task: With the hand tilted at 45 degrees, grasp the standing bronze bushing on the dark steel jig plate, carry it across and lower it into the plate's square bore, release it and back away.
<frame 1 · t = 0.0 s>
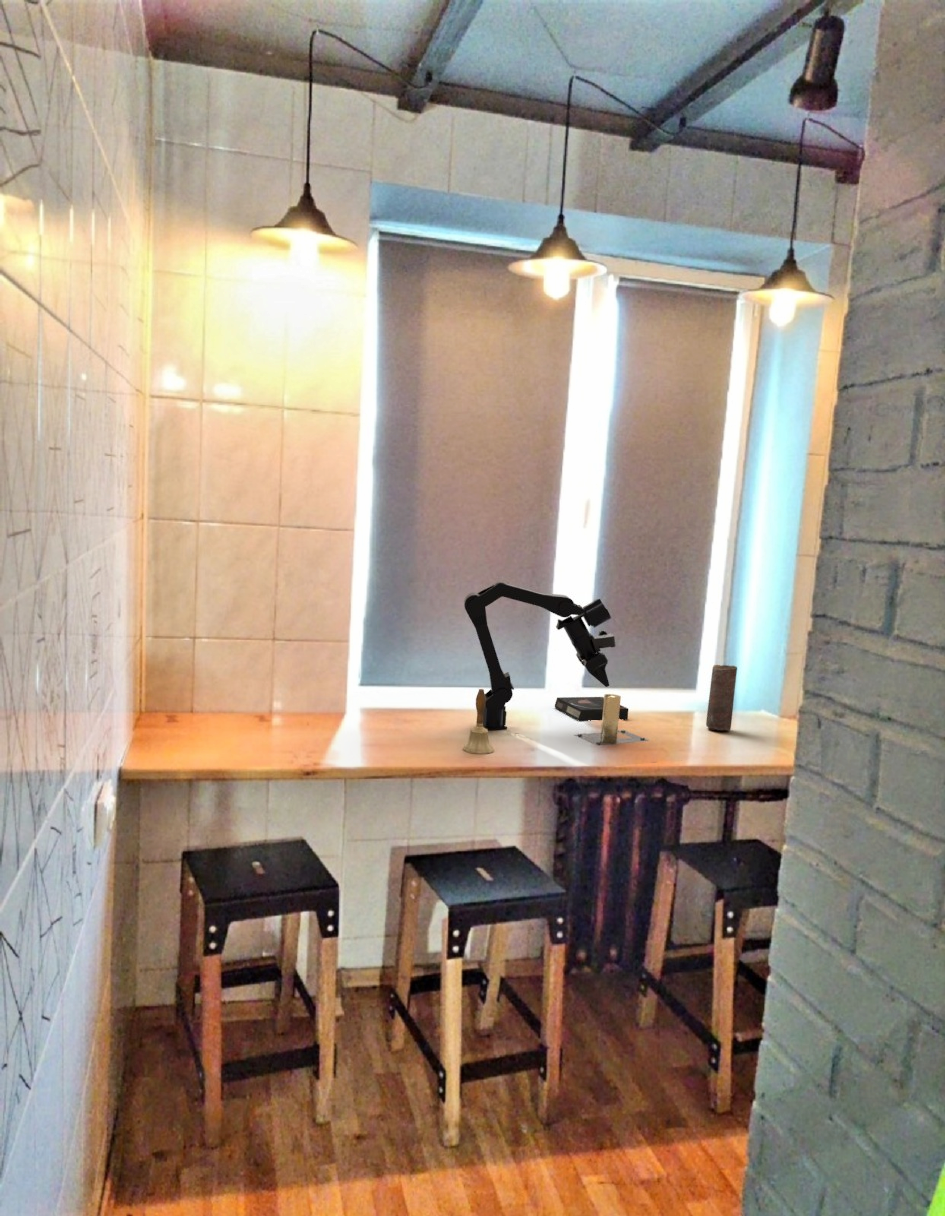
hand: (604, 682, 265), 15 cm above the table, tool tilted 35°, fingers open, 9 cm apart
jig: (610, 742, 257), on the table
bushing: (608, 740, 253), point 1 cm above the table, touching jig
portable cd player: (590, 716, 291), on the table
hand bell: (478, 750, 241), on the table
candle: (717, 731, 281), on the table
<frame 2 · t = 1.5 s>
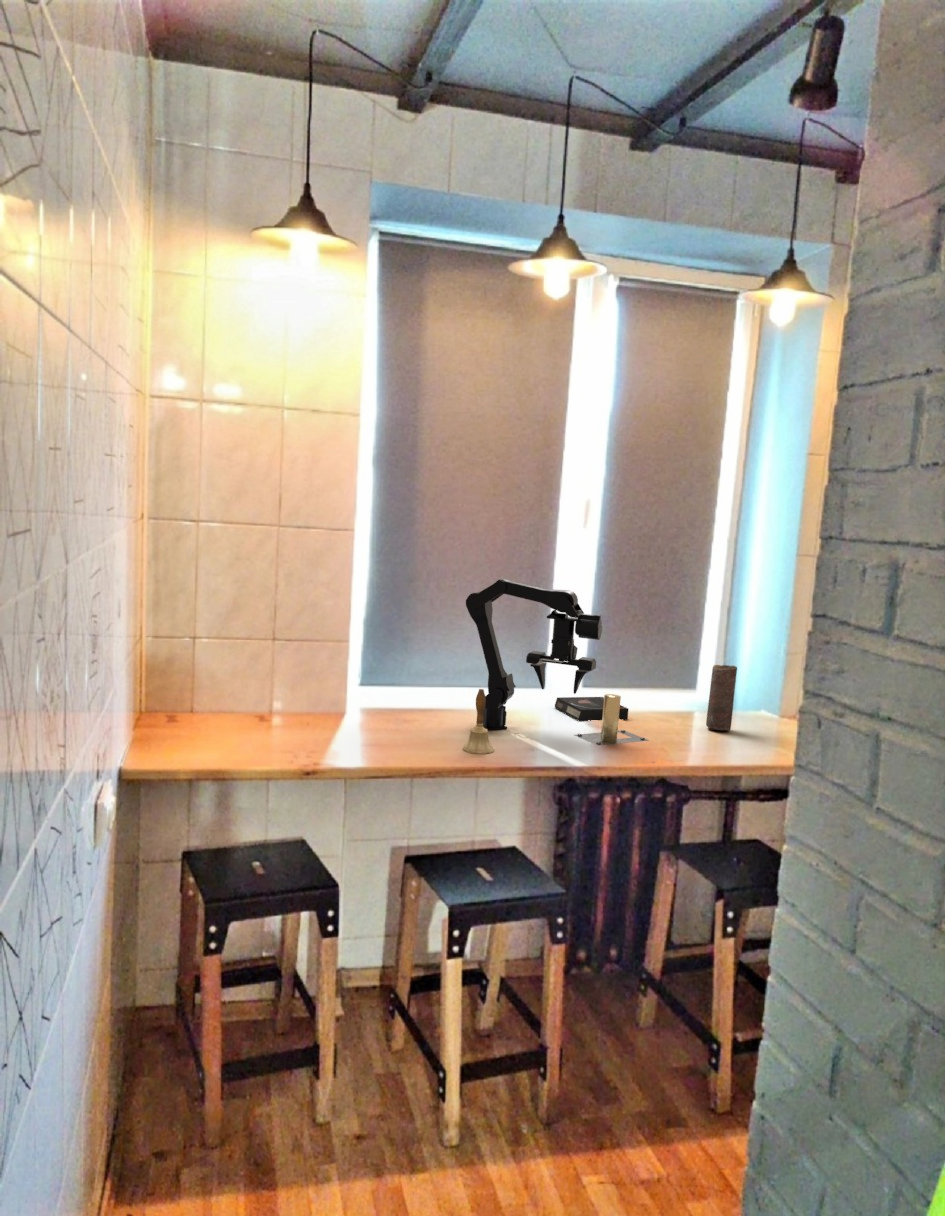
hand: (558, 691, 258), 13 cm above the table, tool pointing down, fingers open, 9 cm apart
nothing on the table moved.
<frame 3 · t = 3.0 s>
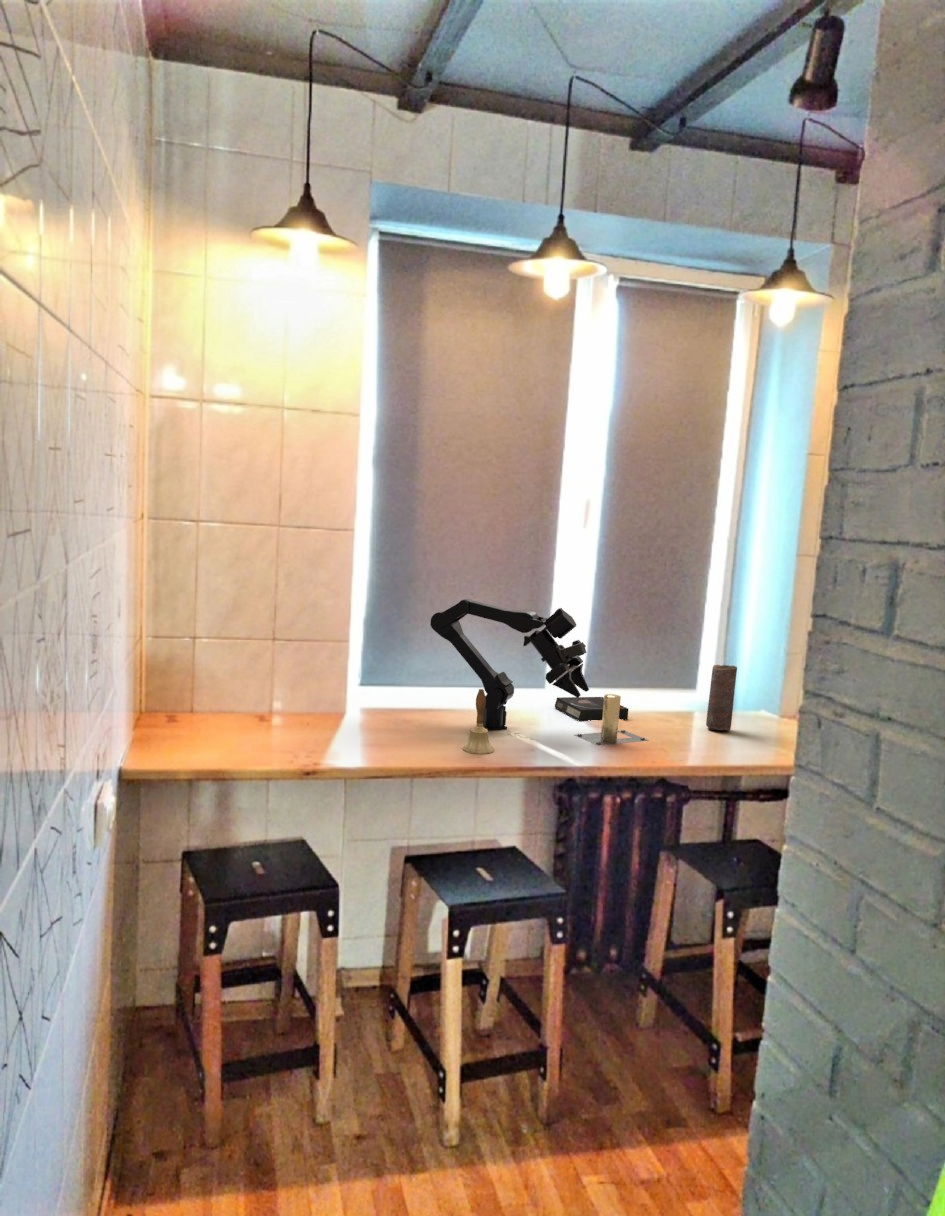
hand: (583, 693, 255), 13 cm above the table, tool tilted 45°, fingers open, 9 cm apart
nothing on the table moved.
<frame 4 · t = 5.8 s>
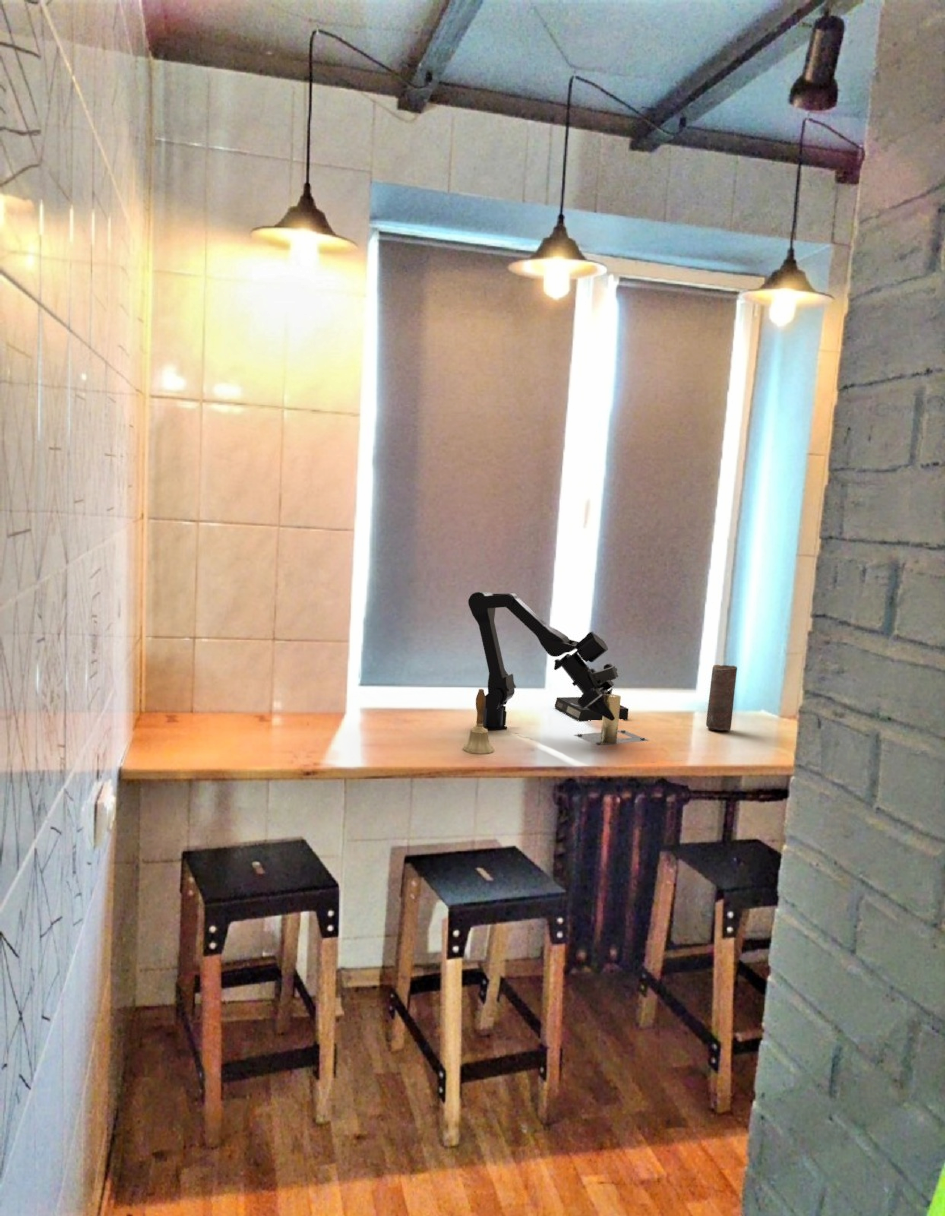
hand: (615, 718, 252), 8 cm above the table, tool tilted 45°, fingers closed on bushing, 4 cm apart
bushing: (608, 740, 253), point 1 cm above the table, touching gripper, jig
everything else where it was.
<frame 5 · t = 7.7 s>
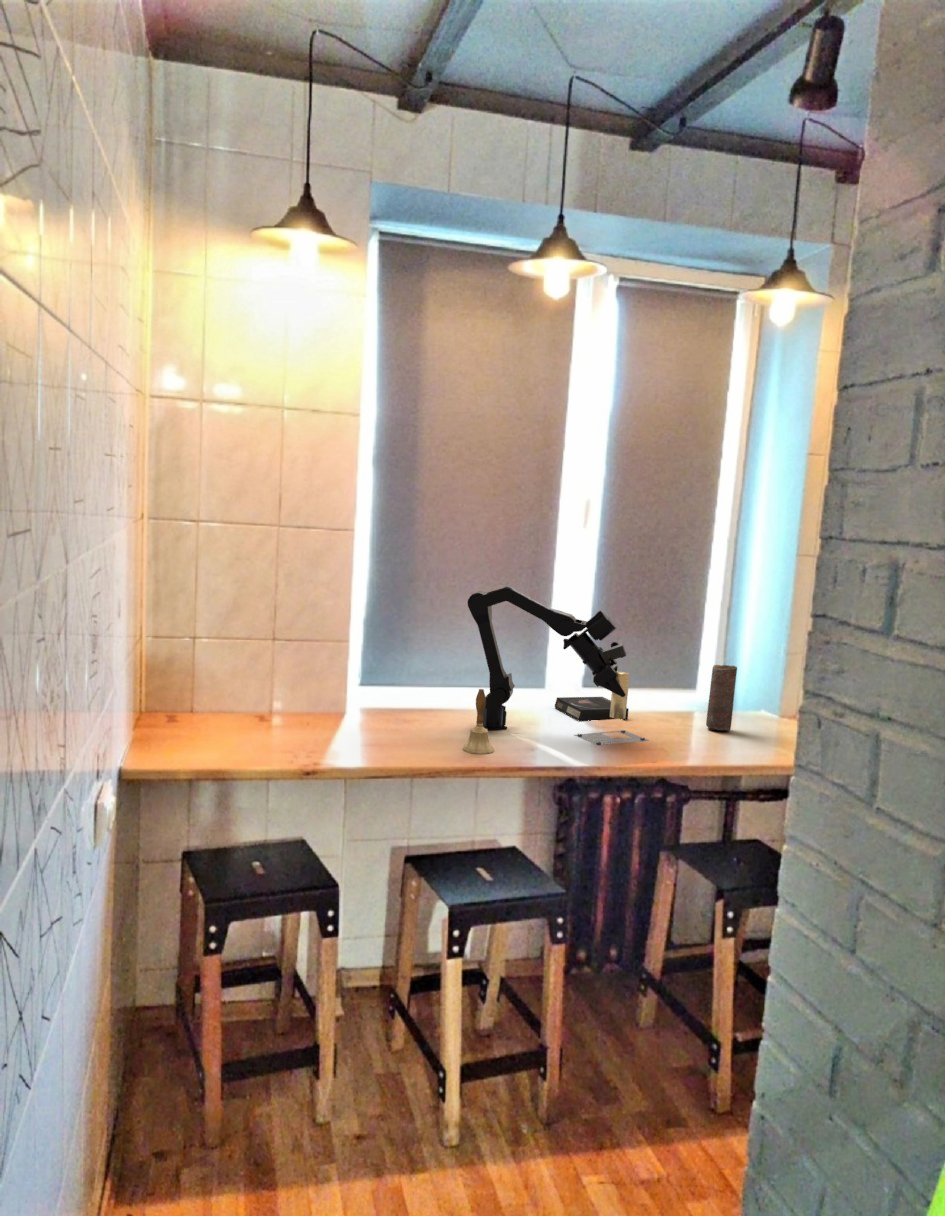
hand: (624, 694, 257), 13 cm above the table, tool tilted 45°, fingers closed on bushing, 4 cm apart
bushing: (617, 717, 259), point 7 cm above the table, touching gripper
everything else where it was.
when the fingers open (7 cm above the table, at t = 9.5 s): bushing stays where it is, resting in jig.
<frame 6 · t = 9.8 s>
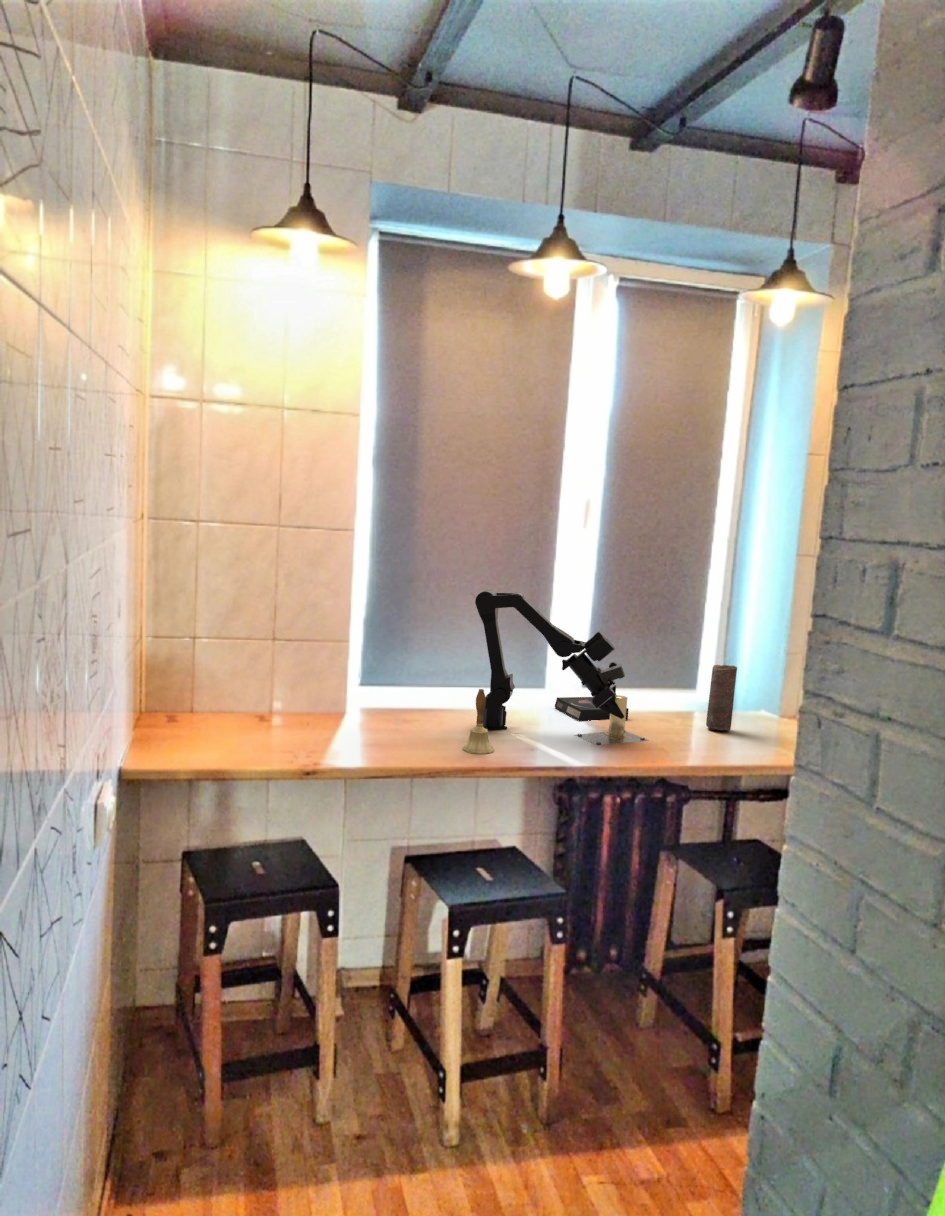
hand: (623, 714, 259), 8 cm above the table, tool tilted 45°, fingers open, 7 cm apart
bushing: (615, 740, 260), resting in jig
everything else where it was.
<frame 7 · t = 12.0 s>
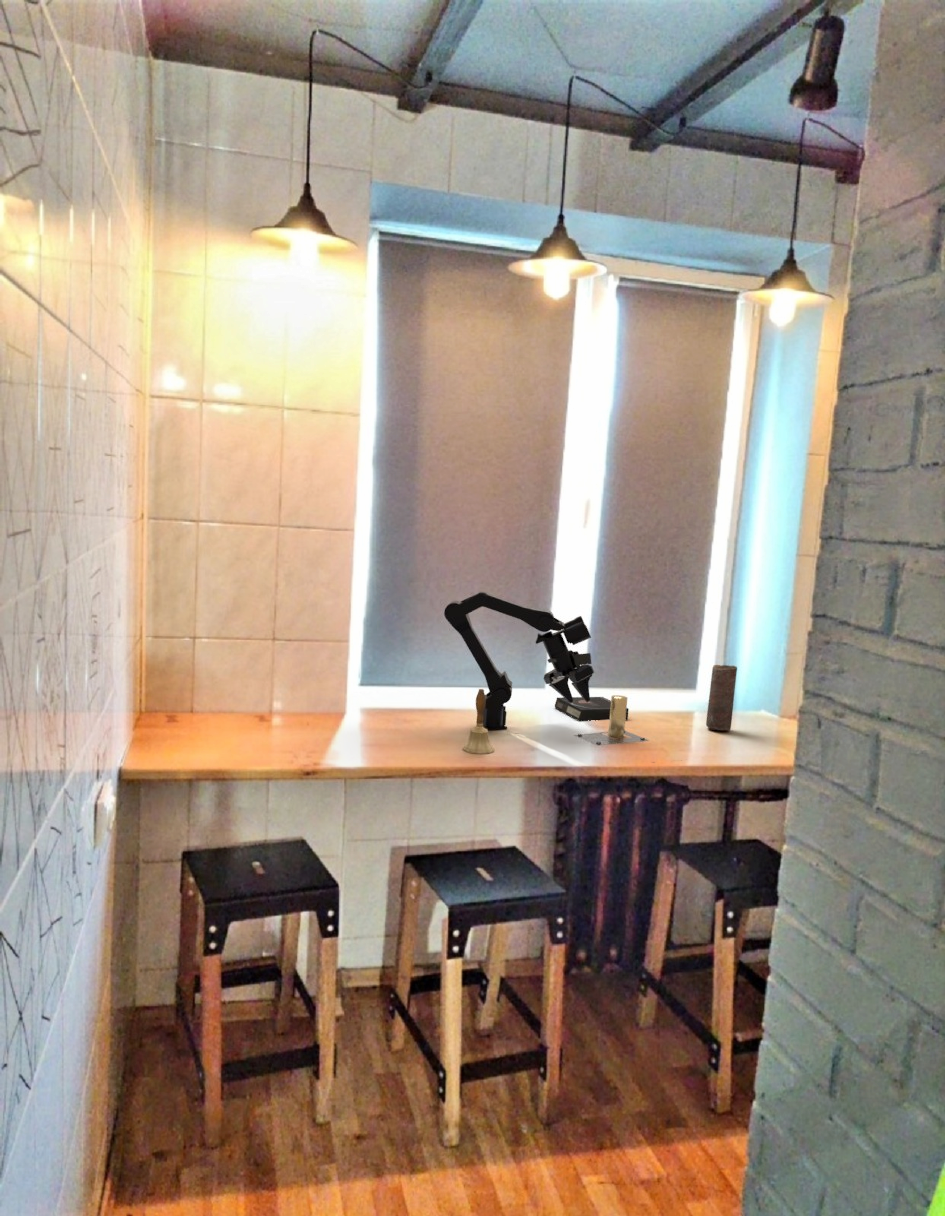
hand: (579, 701, 262), 10 cm above the table, tool tilted 30°, fingers open, 9 cm apart
nothing on the table moved.
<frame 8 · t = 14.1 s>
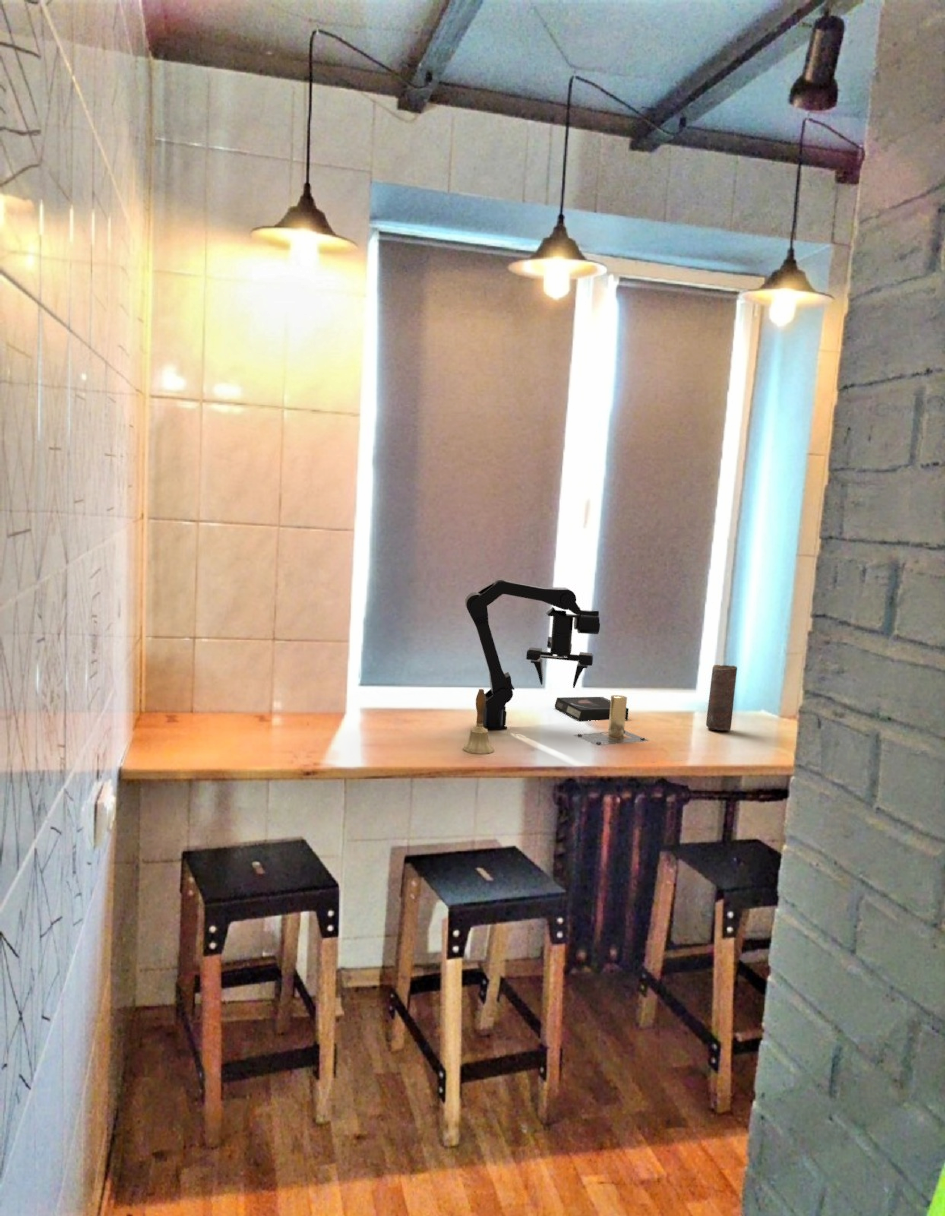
hand: (557, 686, 265), 13 cm above the table, tool pointing down, fingers open, 9 cm apart
nothing on the table moved.
at the end: bushing 0.1 cm from the target spot on the jig, point 0.0 cm above the jig's base; bushing tilted 1°; the gripper is holding nothing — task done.
